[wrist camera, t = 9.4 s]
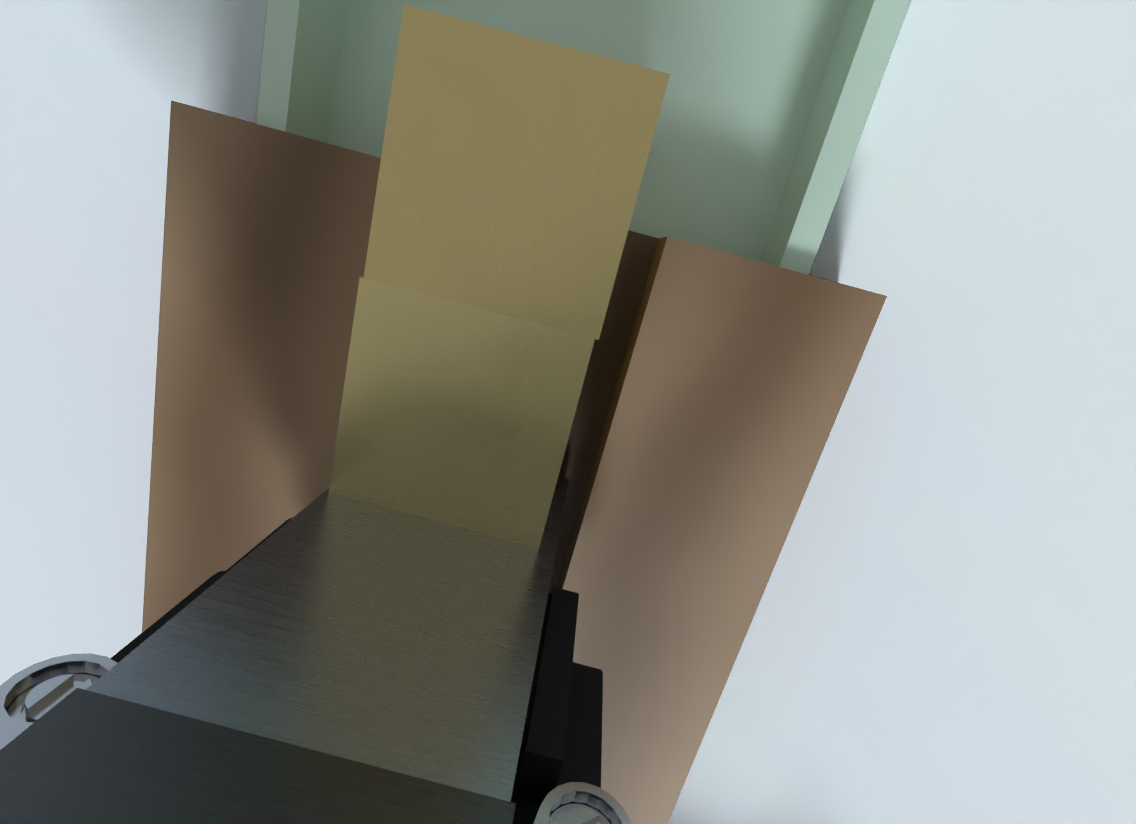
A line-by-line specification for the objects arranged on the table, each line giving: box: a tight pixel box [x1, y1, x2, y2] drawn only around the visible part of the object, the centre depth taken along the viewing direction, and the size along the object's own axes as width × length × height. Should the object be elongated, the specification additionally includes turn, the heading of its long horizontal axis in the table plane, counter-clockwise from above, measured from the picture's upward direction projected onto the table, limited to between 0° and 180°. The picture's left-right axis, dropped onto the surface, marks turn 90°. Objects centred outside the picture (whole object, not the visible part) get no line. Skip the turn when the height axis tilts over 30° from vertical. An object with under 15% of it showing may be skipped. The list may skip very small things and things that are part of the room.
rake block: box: [0, 476, 569, 824], centre depth 9 cm, size 4×5×11 cm
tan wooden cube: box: [364, 4, 670, 340], centre depth 11 cm, size 4×4×4 cm
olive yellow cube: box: [329, 277, 595, 548], centre depth 12 cm, size 4×4×4 cm
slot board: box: [142, 101, 887, 824], centre depth 14 cm, size 14×18×2 cm
